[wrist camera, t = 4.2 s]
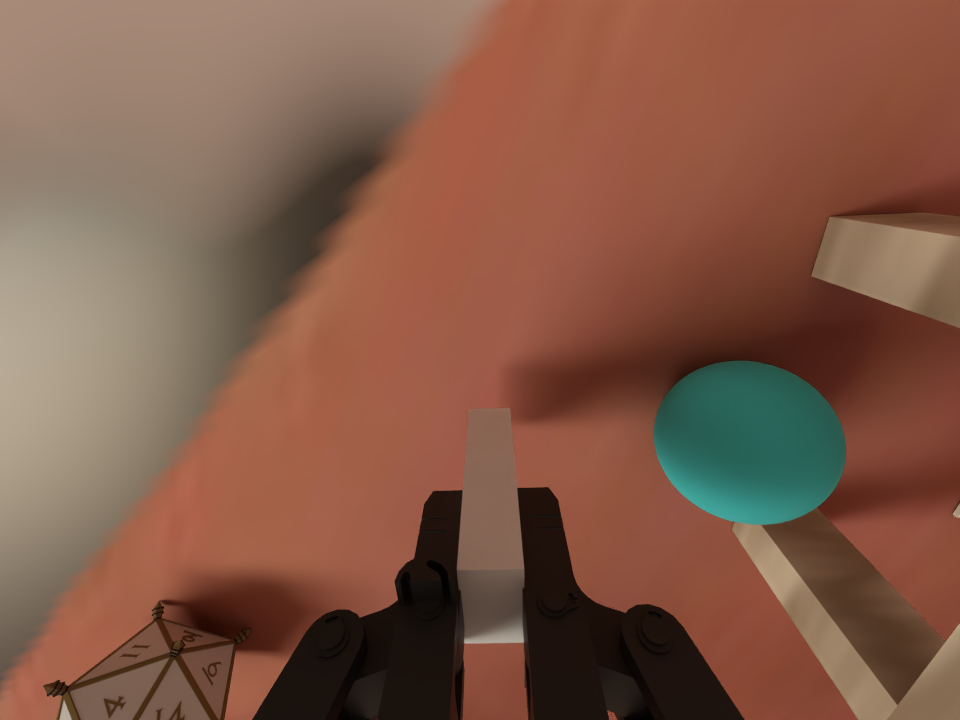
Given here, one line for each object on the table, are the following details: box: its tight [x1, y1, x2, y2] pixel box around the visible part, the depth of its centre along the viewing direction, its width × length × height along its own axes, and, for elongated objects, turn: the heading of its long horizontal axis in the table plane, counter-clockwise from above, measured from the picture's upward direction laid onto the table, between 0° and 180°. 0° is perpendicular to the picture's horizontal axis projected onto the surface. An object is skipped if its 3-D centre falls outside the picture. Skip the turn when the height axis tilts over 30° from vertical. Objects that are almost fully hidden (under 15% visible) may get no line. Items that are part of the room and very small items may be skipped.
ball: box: [654, 361, 846, 525], centre depth 14 cm, size 6×6×6 cm
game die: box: [43, 601, 251, 720], centre depth 21 cm, size 9×8×10 cm
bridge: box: [732, 212, 960, 720], centre depth 12 cm, size 3×14×9 cm, turn 3°
